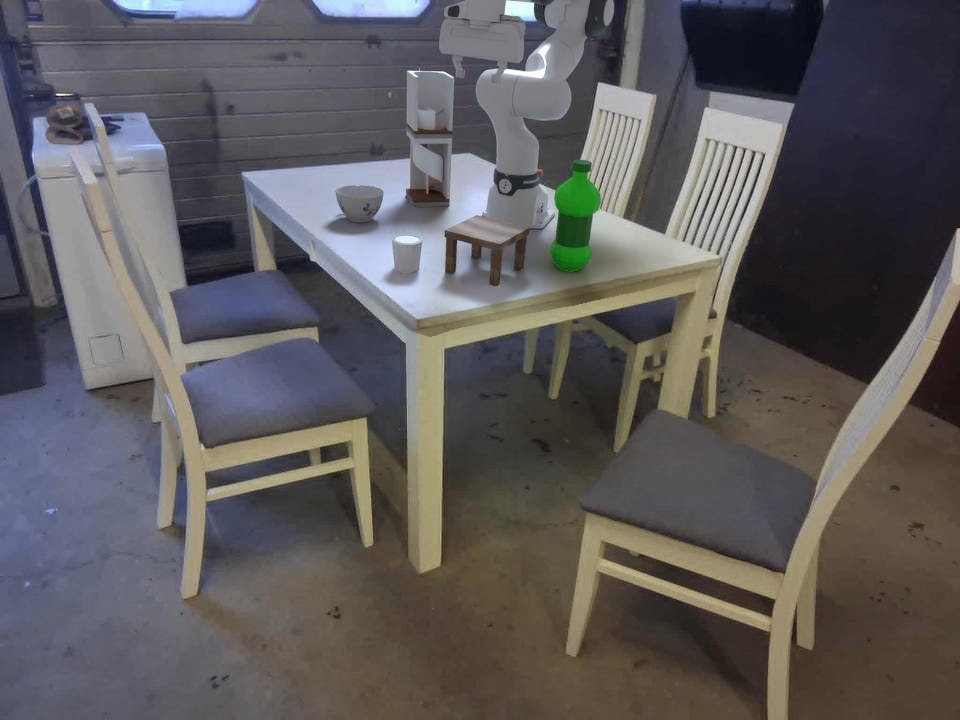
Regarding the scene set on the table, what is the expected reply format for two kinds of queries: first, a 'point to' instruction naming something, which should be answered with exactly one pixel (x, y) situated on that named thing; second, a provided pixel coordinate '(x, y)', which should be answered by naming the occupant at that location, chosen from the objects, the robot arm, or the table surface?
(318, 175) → the table surface
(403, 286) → the table surface
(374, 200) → the teacup
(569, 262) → the plastic bottle
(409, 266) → the white cup
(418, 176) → the display case
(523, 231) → the wooden stool
